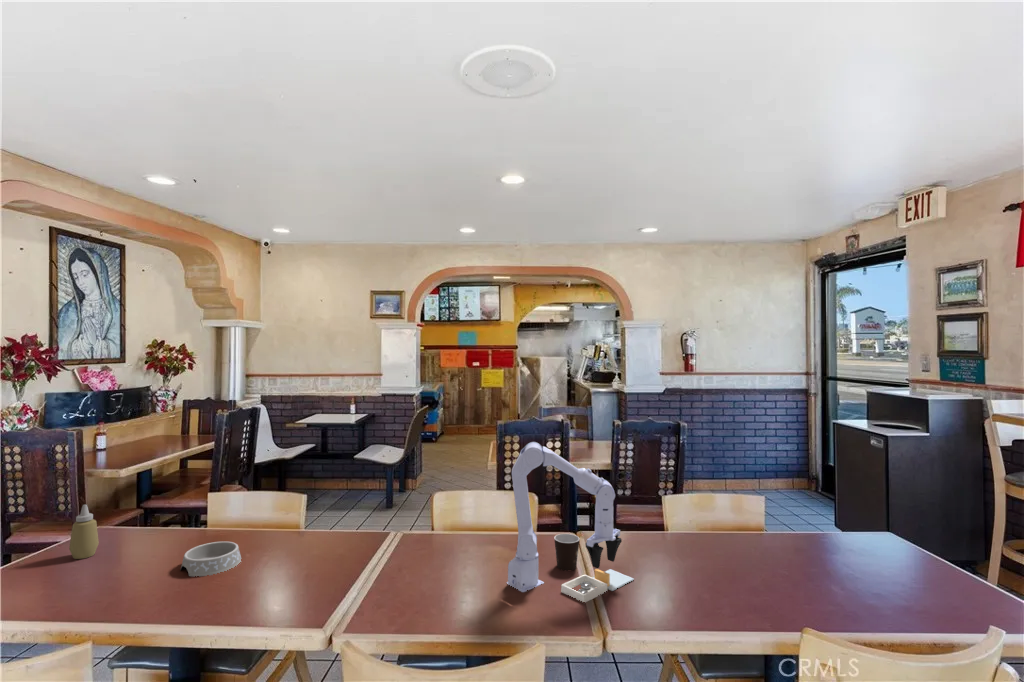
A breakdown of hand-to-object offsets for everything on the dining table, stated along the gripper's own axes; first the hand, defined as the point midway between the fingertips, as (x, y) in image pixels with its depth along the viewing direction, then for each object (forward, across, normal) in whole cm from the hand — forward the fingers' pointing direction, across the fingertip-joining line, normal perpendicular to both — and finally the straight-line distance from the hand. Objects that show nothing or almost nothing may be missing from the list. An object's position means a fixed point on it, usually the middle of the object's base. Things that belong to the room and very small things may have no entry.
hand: (603, 563), depth 164 cm
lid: (+7, +4, 0) cm, 8 cm away
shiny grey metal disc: (+7, -10, 0) cm, 12 cm away
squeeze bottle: (+8, -120, +135) cm, 181 cm away
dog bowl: (+8, -88, +98) cm, 132 cm away
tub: (+7, -8, +1) cm, 11 cm away
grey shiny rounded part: (+6, -6, +2) cm, 9 cm away
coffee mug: (+7, +3, +17) cm, 19 cm away
